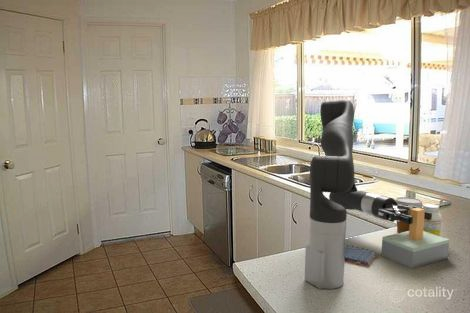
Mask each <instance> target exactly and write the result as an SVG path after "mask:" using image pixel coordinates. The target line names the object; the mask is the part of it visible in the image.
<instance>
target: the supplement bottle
mask: <svg viewBox="0 0 470 313" xmlns="http://www.w3.org/2000/svg"><path fill="white" fill-rule="evenodd" d="M422 208H424V210H425V211H426V212H429V213H432V219H431V220H426V219H424V228H423V231H425V232H428V233H431V234H434V235H437V236H440V237H441V234H442V233H441V232H442V231H441V229H442V220H443V216H442V214H440V213H439V210H440V206H439V205H437V204H433V203H426V204H424V203H423V206H422Z"/></svg>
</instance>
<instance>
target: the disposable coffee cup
mask: <svg viewBox="0 0 470 313" xmlns="http://www.w3.org/2000/svg"><path fill="white" fill-rule="evenodd" d="M394 200H395V201H396V202H397V204H398V205H399V204H400V205H404V206H406V204H409V205H413V206H417V207H422V208H423V205H424V203H423V201H422V200H421V199H419V198H416V197H415V198H414V197H408V196H401V197H400V196H399V197H396V198H395V199H394ZM408 215H410V213H408ZM409 227H410V224H408V223H404V222H401V221H400V222H397V221H396V230H397V233H402V232H406V231H409Z"/></svg>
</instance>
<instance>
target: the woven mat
mask: <svg viewBox="0 0 470 313" xmlns="http://www.w3.org/2000/svg"><path fill="white" fill-rule="evenodd" d="M378 256H379V255H378V254H377V251H375V250H369V249H364V247H361V248H359V247H358V246H357V247H354V246H353V245H352V246H349V245H348V244H347V245H345V261H344V263H345V262H346V263H349V262H350V264H355V265H359V266H362V265H363V266H364V267H367V266H368V268H370V266H371V265H372V264H373V261H374V260H375V259H377V257H378Z"/></svg>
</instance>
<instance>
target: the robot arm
mask: <svg viewBox="0 0 470 313" xmlns="http://www.w3.org/2000/svg"><path fill="white" fill-rule="evenodd" d="M354 107H355V106H354V104H353V102H352V101H351V100H350V99H346V98H345V99H343V98H342V99H334V100H327V101H323V102H321V105H320V109H319V110H320V121H321V126H322V132H321V138H320V147H321V149H322V151H323V152H324V154H325V155H315V156H313V157H312V158H311V161H310V165H309V187H310V188H309V189H310V190H309V192H310V194H309V195H310V199H309V201H310V202H309V227H308V244H307V245H306V246H305V252H304V253H305V256H304V257H305V258H304V259H305V260H304V280H305V281H306V282H307V283H309V284H311V285H312V286H314V287H315V288H317V289H319V290H321V289H329V290H330V289H331V290H333V289H338V288H340V287H342V286H343V285H344V283H345V281H344V280H345V246H346V235H347V232H346V231H347V216H348V215H347V214H348V213H347V210H348V211H349V210H354V211H355V210H356V211H359V212H362V213H365V214H367V215H369V216H372V217H375V218H378V219H380V220H384V221H387V222H392V223H394V222H396V223H397V222H400V221H401V222H404V223H408V224H412V223H413V217H411V216H410V215H408V213H410V212H411V209H413V208H421V209H424V208H423V206H422V207H417V206H413V205H409V204H406V206H404V205H400V204H399V205H398V204H397V202H396V201H395V200H396V199H394V197H393V198H392V197H391V196H390V197H389V196H386V195H381V194H379V193H378V194H377V193H372V192H367V191H363V190H358V188H357V185H356V183H355V164H354V158H353V151H354V150H353V148H354V131H353V125H354V120H355V108H354ZM324 193H329V195H328V197H327V196H325V195H324ZM424 219H426V220H431V219H432V213H429V212H426V211H425V214H424Z"/></svg>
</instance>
